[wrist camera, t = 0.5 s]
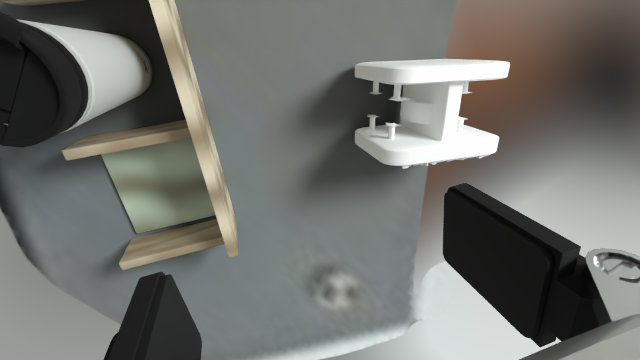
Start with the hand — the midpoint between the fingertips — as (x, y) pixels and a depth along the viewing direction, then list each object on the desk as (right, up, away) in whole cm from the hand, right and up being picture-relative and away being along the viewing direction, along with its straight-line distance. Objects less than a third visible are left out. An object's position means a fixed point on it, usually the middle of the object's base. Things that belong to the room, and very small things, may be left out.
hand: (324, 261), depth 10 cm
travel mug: (-21, +15, +21) cm, 33 cm away
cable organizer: (+11, +14, +32) cm, 36 cm away
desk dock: (-20, +8, +24) cm, 32 cm away
